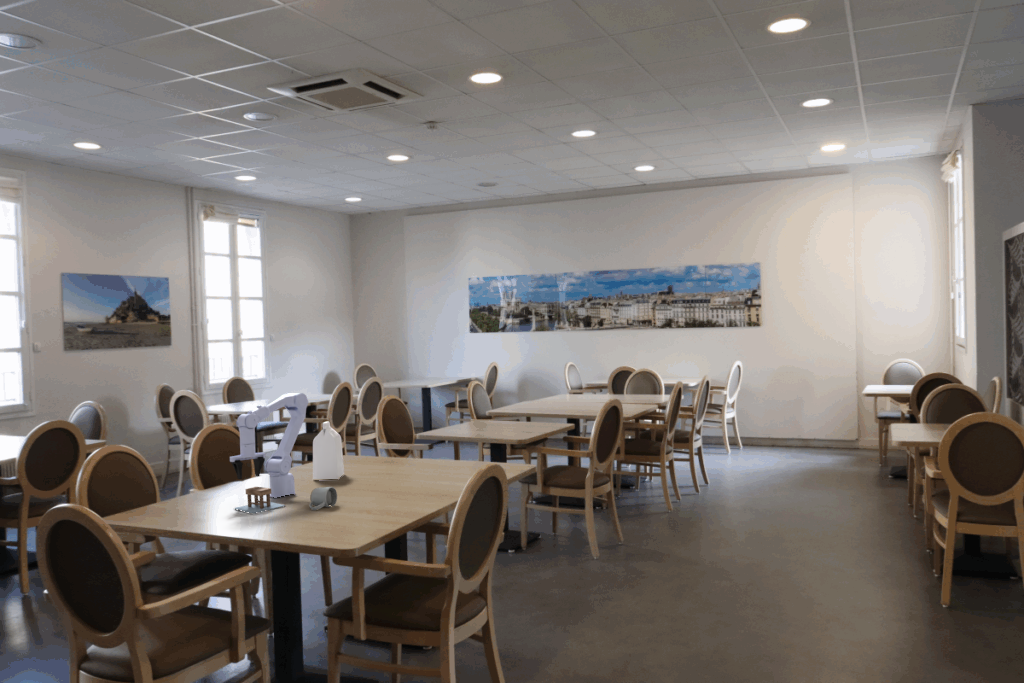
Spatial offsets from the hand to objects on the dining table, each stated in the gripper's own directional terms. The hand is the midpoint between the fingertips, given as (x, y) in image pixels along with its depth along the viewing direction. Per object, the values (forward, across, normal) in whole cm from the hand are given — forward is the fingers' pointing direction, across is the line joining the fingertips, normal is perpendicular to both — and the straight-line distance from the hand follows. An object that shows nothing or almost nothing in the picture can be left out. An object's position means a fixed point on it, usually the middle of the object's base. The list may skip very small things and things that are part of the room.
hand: (248, 477), depth 308 cm
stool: (+10, +2, +12) cm, 16 cm away
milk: (+9, -50, -18) cm, 54 cm away
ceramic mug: (+10, -13, +33) cm, 37 cm away
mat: (+10, +2, +12) cm, 16 cm away
